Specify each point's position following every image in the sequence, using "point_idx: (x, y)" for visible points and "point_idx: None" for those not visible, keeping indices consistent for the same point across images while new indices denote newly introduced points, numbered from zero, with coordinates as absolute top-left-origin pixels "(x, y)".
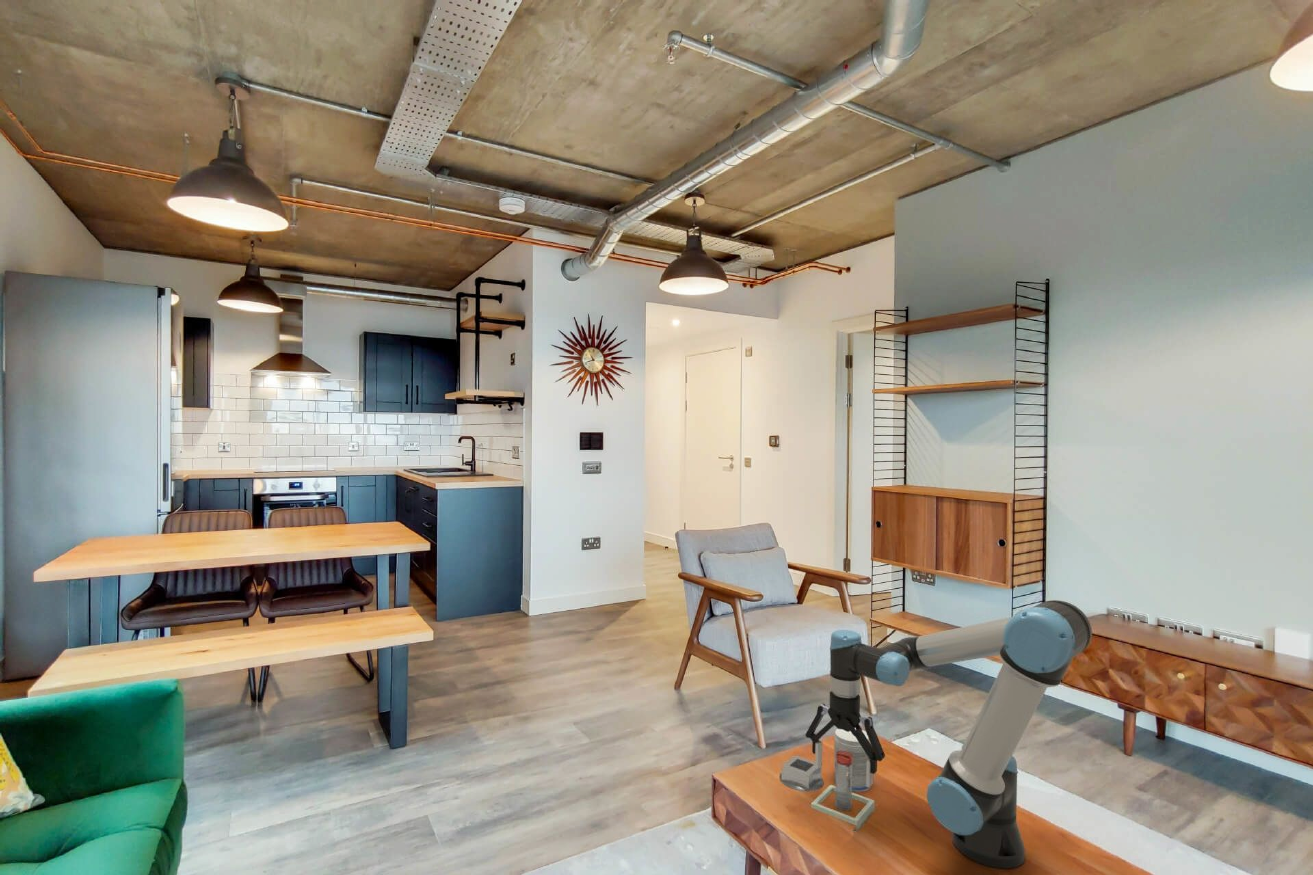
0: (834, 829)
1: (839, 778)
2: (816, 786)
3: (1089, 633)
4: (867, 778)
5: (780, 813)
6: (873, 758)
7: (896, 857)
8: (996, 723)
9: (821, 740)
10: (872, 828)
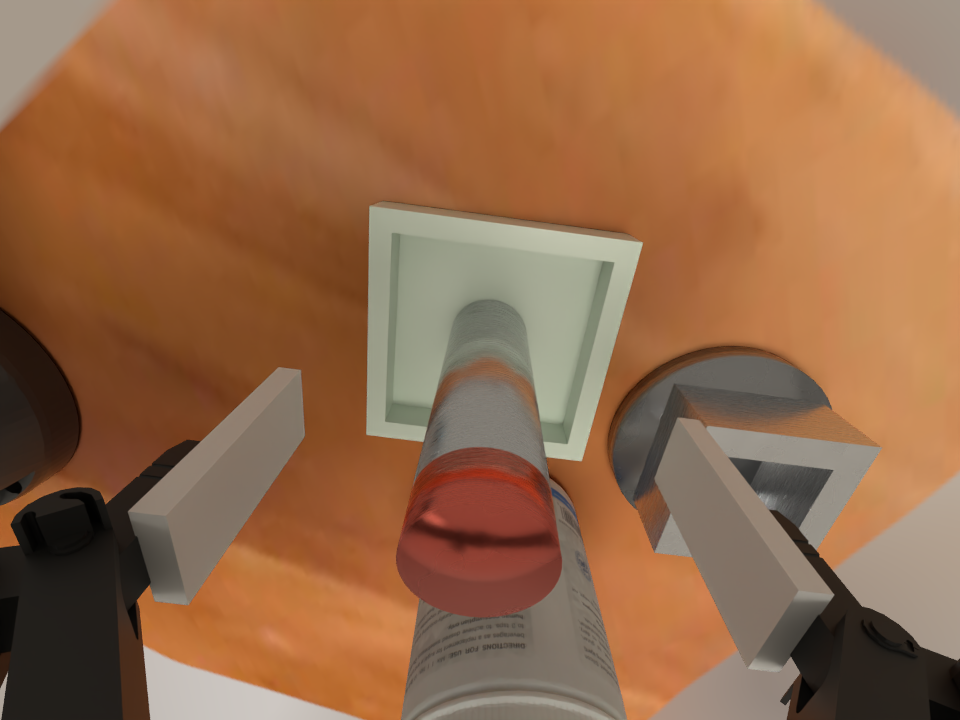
0: (483, 154)
1: (502, 382)
2: (642, 433)
3: None
4: (261, 399)
5: (789, 133)
6: (19, 540)
7: (146, 83)
8: None
9: (759, 666)
10: (335, 273)
